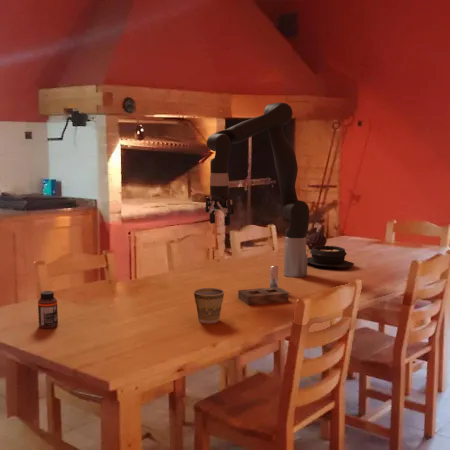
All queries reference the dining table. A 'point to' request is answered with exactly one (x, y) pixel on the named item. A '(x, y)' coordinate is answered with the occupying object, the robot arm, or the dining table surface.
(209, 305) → the ceramic cup
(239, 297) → the socket block
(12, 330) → the dining table surface
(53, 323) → the supplement bottle
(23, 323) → the dining table surface
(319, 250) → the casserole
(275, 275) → the pin
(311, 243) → the pine cone
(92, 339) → the dining table surface
